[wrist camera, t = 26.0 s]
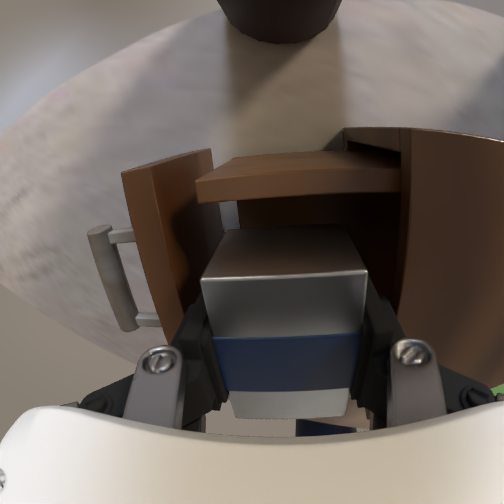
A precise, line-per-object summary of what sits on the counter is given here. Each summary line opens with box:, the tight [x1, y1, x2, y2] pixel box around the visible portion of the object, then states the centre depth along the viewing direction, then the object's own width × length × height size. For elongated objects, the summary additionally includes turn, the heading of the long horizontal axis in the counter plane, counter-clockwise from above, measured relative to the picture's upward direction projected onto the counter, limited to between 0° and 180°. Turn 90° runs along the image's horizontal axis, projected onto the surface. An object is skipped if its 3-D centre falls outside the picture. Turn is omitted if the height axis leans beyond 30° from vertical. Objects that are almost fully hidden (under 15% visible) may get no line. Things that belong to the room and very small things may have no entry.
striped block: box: [200, 223, 368, 419], centre depth 9 cm, size 6×4×4 cm
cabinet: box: [343, 127, 504, 419], centre depth 12 cm, size 15×13×10 cm
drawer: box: [87, 148, 401, 345], centre depth 14 cm, size 18×11×8 cm, turn 96°
